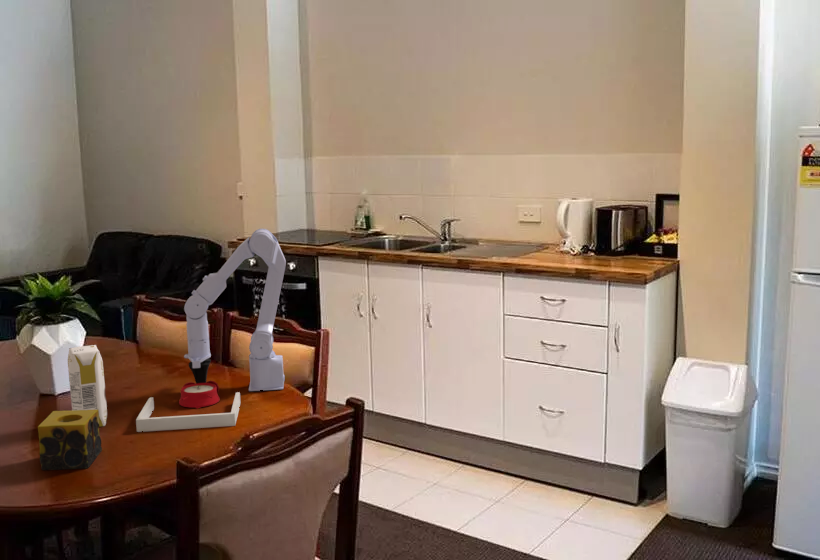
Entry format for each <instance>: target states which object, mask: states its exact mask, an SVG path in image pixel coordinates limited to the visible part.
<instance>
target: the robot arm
mask: <svg viewBox="0 0 820 560" xmlns="http://www.w3.org/2000/svg"><path fill="white" fill-rule="evenodd" d="M281 248H282V247H281V246H280V244H279V241H278V238H277V237H276V236H275V235H274V234H273V233H272V232H271V231H270V230H268V228H258V229H256V230H254V231H253V232H252V234H251V236H248V237H247V238H245V240H244V241H243V242H242V243H240V244H238V246H237V248H236V249H234V251H233V253H232V254H231V255H230V257H228V259H227V260H226V262H225V263H224V264H223V265H222V266H221V268H220V269H218V271H217V272H213V273H209V274H208V275H204V277H202V283H201V284H200V285H199V286H198V287H197V288H196V290H195V289H193V290H192V292H191V296H189V298H188V299H187V300H186V301H185V304H184V306H183V307H184V308H183V311H184V312H185V314H186V319H185V320H186V337H187V338H186V339H187V351H188V353H185V354H184V355H183V358H184V359H189V361H190V362H189V363H188V368H189V369H190V371H191V372H192V374H193V377H194V378H193V379H194V383H195V384H196V383H206V382H207V380H208V379H207V378H208V371H209V368H210V364H211V362H212V359H210V358H211V356H212V354H211V350H210V348H211V347H210V332H209V322H208V313H207V311H208V309H209V306H211V305H213V304H214V302H215V301H216V300H217V299H218V297H219V296H220V295H221V294H222V293H223V292H224V291H225V289H226V288H227V280H228V279H229V278H230V276H231V275H232V274H233V273H234V272H235V271H236V269H237V268H239V266H240V265H241V264H242V263H243V262H244V261H245V260H249V259H250V258H253V257H255V254H256V256H258V257H260V258H261V259H262V261H264V263H265V264H266V266H267V267H268V268H267V274H266V281H265V285H264V289H263V295H262V300H261V305H260V309H259V315H258V319H257V323H256V329H255V330H254V332H253V333H252V334H251V337H250V342H249V345H248V346H249V348H248V349H249V352H250V353H249V355H248V358H249V359H248V361H249V377H250V382H249V386H248V392H261V391H260V390H263V391H276V390H277V391H279V390H280V391H281V390H284V387H285V386H284V385H285V381H286V380H285V377H286V376H285V373H284V359H283V357H284V356H283V355H281V354H276V352H275V351H274V350H273V349H274V346H273V344H274V335H273V329H274V324H275V320H276V315H277V310H278V304H279V300H280V295H281V289H282V285H283V280H284V275H285V271H286V265H287V264H286V263H287V261H286V258H285V255H284V253H283V251H282V249H281Z"/></svg>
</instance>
